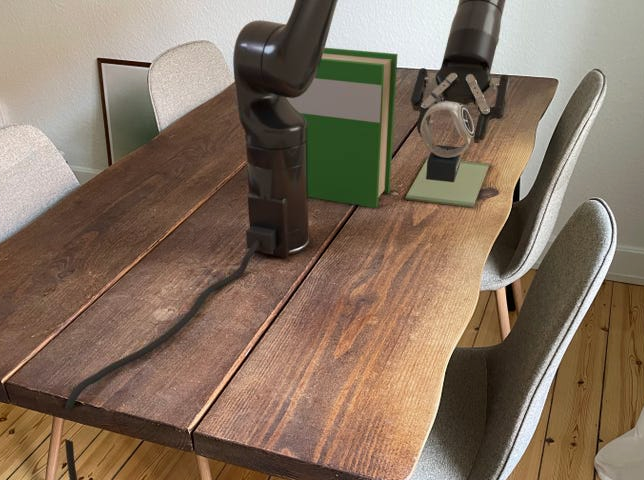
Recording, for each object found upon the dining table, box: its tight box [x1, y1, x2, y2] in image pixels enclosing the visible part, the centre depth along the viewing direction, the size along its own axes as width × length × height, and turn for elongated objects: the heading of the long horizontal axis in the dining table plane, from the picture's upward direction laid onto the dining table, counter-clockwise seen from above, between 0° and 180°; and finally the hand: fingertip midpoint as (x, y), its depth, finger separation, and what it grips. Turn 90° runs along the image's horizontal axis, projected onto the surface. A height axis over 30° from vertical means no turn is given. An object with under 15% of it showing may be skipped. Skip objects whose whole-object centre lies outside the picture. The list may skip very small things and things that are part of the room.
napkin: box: [404, 157, 490, 208], centre depth 140 cm, size 20×12×1 cm, turn 160°
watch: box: [419, 101, 476, 182], centre depth 115 cm, size 6×8×11 cm
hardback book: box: [286, 47, 398, 209], centre depth 131 cm, size 18×7×24 cm, turn 65°
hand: (449, 138), depth 115 cm, fingers closed on watch, 8 cm apart
